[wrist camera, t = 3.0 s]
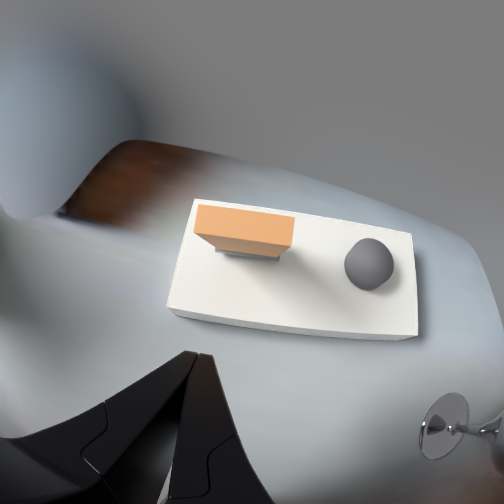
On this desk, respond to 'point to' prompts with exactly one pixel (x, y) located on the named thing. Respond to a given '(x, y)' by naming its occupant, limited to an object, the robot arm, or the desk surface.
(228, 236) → the paddle lever
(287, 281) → the switch panel
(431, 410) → the wine glass
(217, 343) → the desk surface
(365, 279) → the push button
